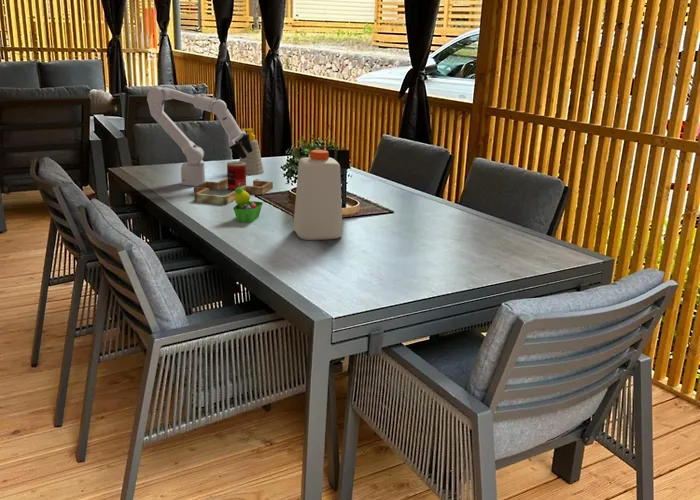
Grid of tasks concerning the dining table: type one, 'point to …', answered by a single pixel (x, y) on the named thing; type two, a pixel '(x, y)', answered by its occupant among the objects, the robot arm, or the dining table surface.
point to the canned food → (236, 174)
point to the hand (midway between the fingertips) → (247, 154)
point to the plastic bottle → (318, 198)
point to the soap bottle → (253, 157)
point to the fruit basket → (246, 206)
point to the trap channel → (203, 194)
